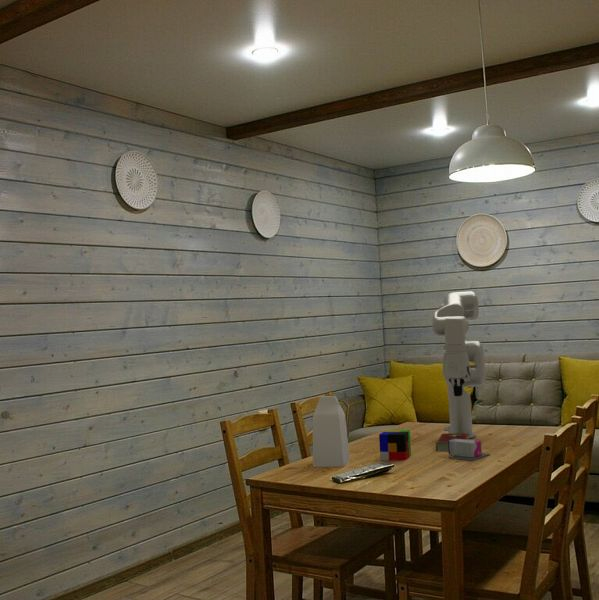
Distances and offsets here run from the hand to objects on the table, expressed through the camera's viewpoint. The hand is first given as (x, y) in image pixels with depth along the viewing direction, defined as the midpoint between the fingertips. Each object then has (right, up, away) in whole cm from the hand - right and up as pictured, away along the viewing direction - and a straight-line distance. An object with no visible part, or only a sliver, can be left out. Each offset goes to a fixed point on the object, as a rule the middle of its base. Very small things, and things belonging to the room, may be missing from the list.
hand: (458, 395), depth 289 cm
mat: (+3, -23, -4) cm, 24 cm away
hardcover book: (+2, -24, +20) cm, 31 cm away
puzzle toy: (-24, -25, +2) cm, 35 cm away
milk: (-49, -26, -2) cm, 56 cm away
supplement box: (-2, -20, +1) cm, 20 cm away
